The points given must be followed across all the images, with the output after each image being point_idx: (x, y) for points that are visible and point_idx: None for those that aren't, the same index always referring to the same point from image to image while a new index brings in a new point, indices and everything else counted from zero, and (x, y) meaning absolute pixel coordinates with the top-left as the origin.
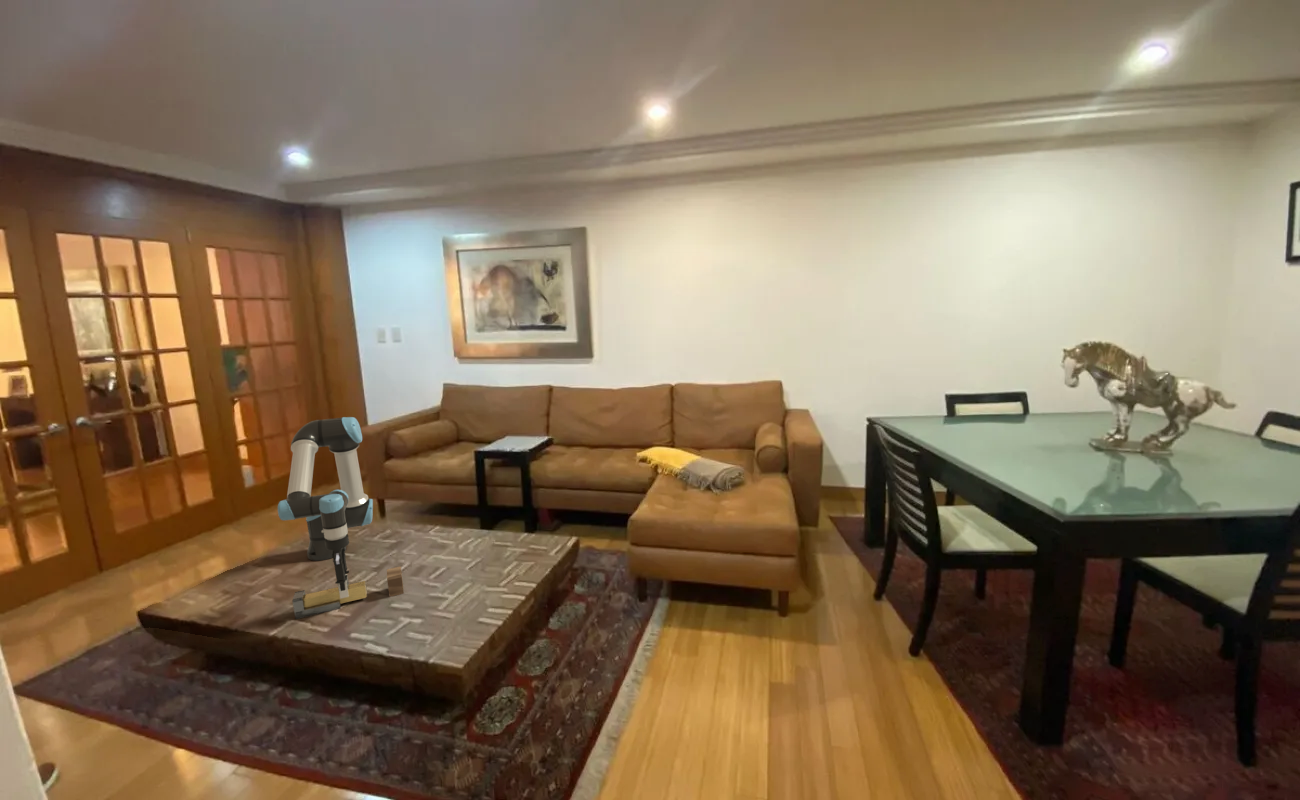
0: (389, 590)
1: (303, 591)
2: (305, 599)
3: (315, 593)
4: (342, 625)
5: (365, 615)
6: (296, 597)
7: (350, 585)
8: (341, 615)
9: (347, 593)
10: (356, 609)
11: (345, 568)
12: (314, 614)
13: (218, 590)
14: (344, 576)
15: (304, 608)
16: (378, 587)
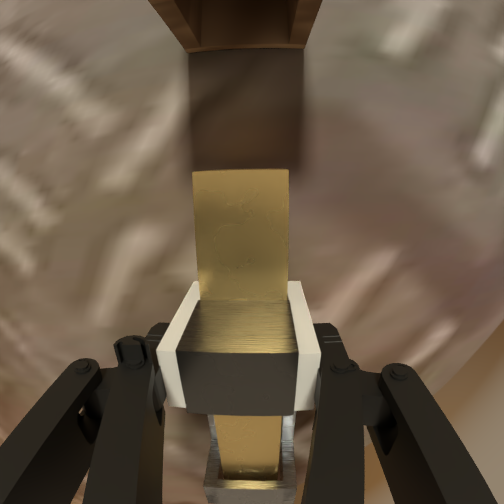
0: (310, 28)
1: (218, 489)
2: (277, 470)
3: (235, 449)
4: (455, 276)
5: (435, 178)
6: (270, 500)
7: (223, 287)
8: (370, 291)
9: (301, 295)
10: (352, 222)
11: (145, 409)
12: None
13: None
14: (359, 400)
15: (281, 443)
16: (137, 116)
